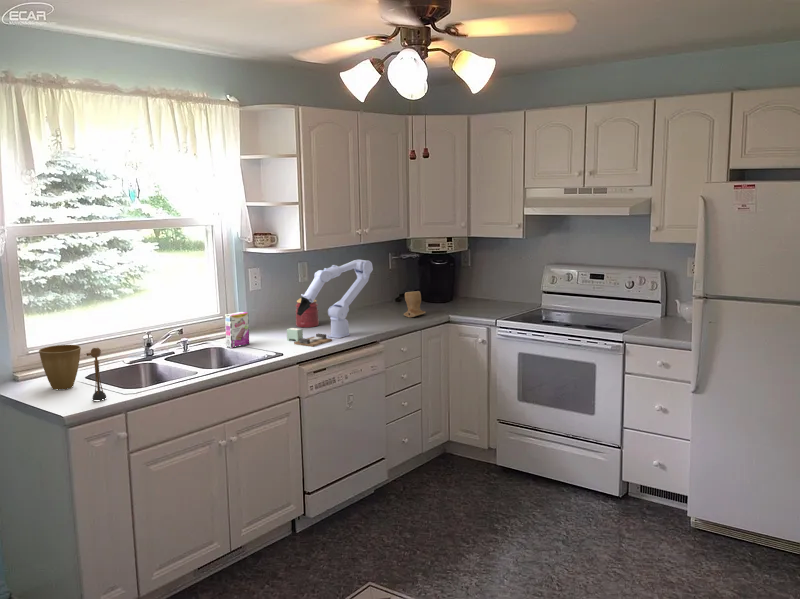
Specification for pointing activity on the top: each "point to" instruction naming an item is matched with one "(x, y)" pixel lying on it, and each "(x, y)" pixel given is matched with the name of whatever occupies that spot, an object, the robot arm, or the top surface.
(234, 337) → the candy bar box
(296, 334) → the module
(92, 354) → the wooden tabletop sculpture
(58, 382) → the plant pot
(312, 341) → the rail board
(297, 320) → the canister
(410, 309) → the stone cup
